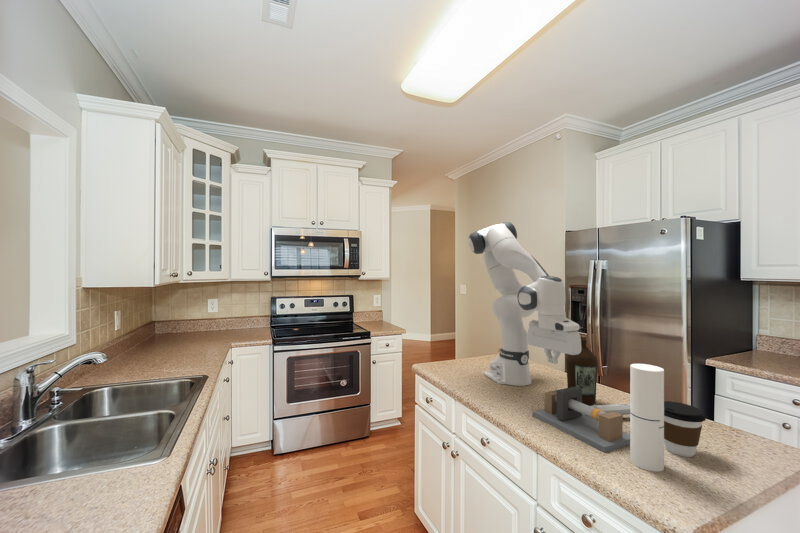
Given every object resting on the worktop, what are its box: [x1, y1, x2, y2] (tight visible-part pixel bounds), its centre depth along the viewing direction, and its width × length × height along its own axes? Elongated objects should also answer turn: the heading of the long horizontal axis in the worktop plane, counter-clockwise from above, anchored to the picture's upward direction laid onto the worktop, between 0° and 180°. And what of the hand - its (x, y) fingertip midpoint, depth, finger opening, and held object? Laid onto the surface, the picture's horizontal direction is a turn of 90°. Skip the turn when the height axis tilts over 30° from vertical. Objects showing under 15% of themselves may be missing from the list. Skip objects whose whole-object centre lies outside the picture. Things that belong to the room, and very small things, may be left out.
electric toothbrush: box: [586, 402, 630, 417], centre depth 117 cm, size 5×7×25 cm
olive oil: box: [565, 335, 598, 406], centre depth 132 cm, size 11×11×25 cm
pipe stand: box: [532, 389, 630, 453], centre depth 110 cm, size 26×14×8 cm, turn 25°
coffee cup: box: [664, 400, 706, 458], centre depth 96 cm, size 11×11×12 cm
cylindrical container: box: [629, 363, 665, 473], centre depth 90 cm, size 7×7×25 cm
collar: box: [556, 386, 582, 421], centre depth 113 cm, size 2×9×9 cm, turn 114°
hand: (552, 362), depth 119 cm, fingers closed
